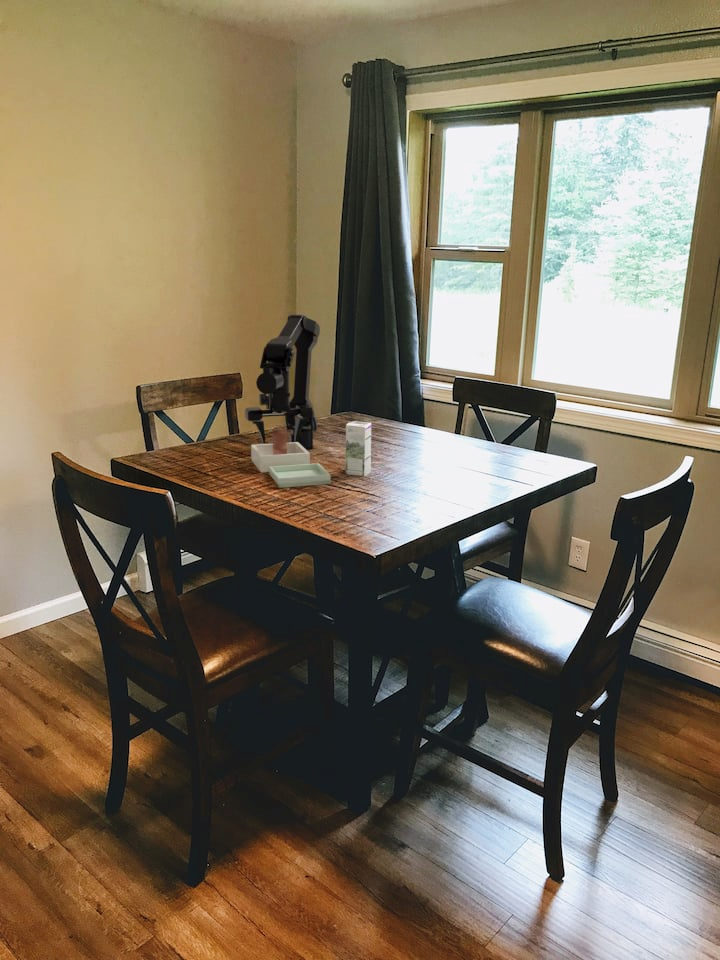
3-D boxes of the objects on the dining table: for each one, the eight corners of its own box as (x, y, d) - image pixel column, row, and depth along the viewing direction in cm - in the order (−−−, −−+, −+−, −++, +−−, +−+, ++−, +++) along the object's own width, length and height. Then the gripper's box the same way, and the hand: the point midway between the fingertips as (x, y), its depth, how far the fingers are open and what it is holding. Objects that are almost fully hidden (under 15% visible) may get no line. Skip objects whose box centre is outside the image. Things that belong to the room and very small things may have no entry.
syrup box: (371, 472, 214) (372, 421, 210) (364, 477, 208) (365, 426, 204) (351, 470, 215) (352, 420, 211) (344, 475, 210) (345, 424, 206)
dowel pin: (285, 461, 221) (284, 428, 218) (288, 465, 217) (288, 431, 215) (271, 462, 220) (271, 429, 217) (274, 466, 216) (274, 432, 213)
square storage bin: (298, 458, 227) (297, 441, 226) (309, 470, 215) (309, 453, 213) (251, 461, 223) (251, 444, 222) (260, 474, 210) (260, 456, 209)
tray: (318, 471, 213) (318, 463, 213) (330, 483, 202) (330, 474, 202) (269, 475, 209) (269, 466, 208) (278, 487, 198) (278, 478, 197)
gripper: (304, 382, 223) (304, 434, 227) (240, 384, 217) (242, 438, 221) (314, 388, 212) (314, 443, 217) (247, 391, 207) (249, 447, 211)
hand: (279, 442), depth 217 cm, fingers open, 9 cm apart
